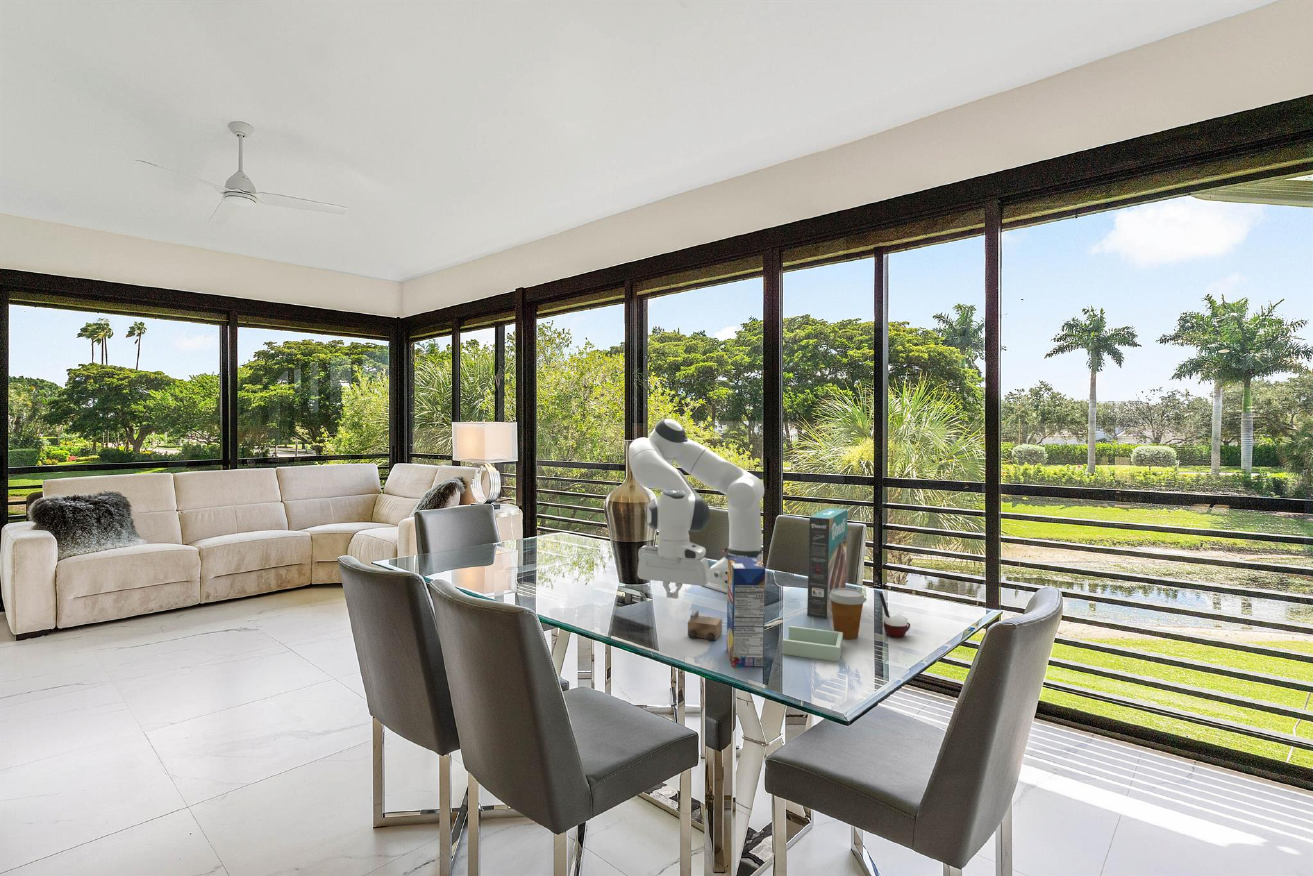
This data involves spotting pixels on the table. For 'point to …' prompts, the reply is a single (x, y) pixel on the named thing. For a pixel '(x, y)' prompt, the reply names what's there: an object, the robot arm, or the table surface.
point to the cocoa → (894, 621)
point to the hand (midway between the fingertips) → (672, 597)
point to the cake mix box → (826, 559)
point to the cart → (704, 627)
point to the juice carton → (745, 612)
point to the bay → (813, 643)
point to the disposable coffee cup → (846, 611)
